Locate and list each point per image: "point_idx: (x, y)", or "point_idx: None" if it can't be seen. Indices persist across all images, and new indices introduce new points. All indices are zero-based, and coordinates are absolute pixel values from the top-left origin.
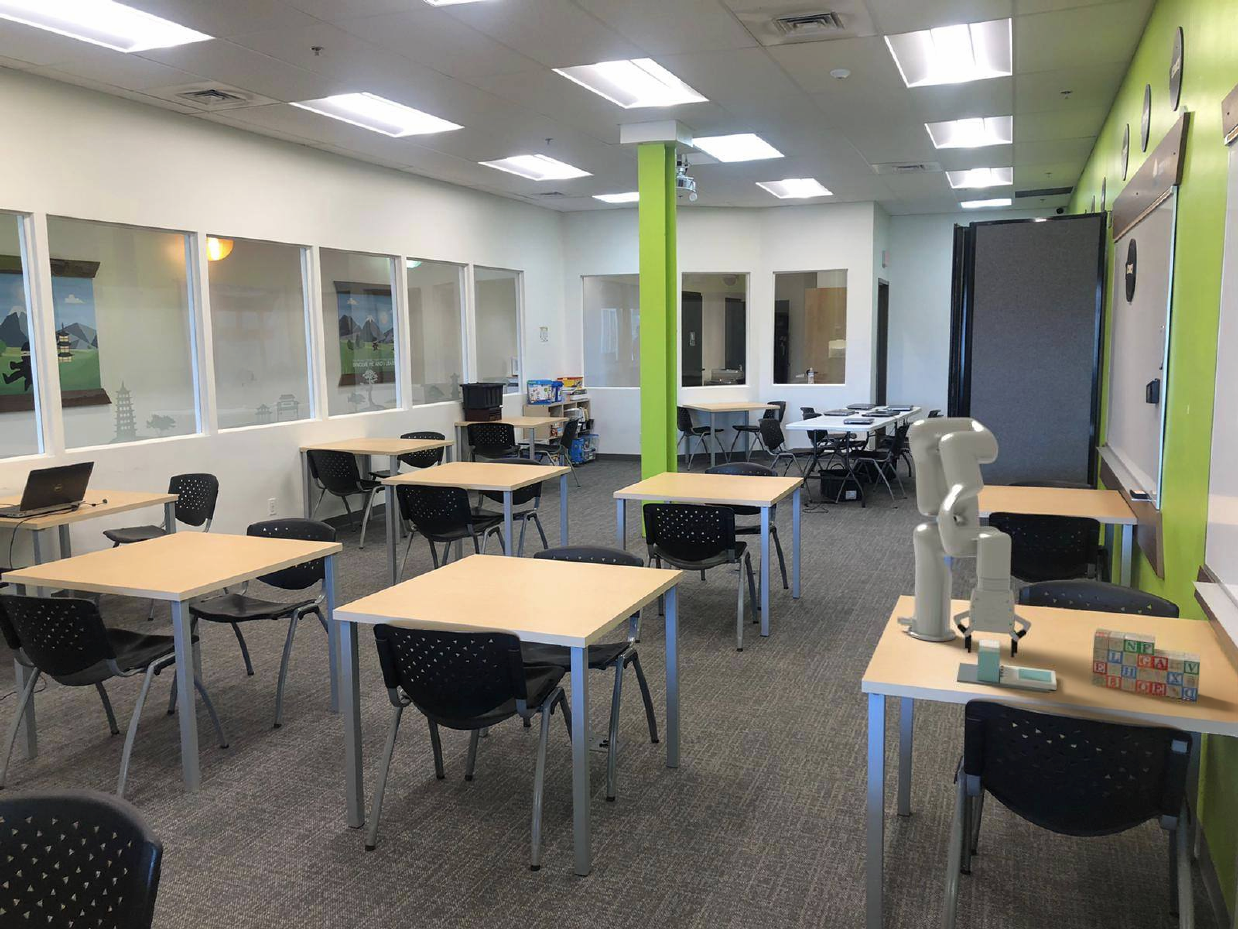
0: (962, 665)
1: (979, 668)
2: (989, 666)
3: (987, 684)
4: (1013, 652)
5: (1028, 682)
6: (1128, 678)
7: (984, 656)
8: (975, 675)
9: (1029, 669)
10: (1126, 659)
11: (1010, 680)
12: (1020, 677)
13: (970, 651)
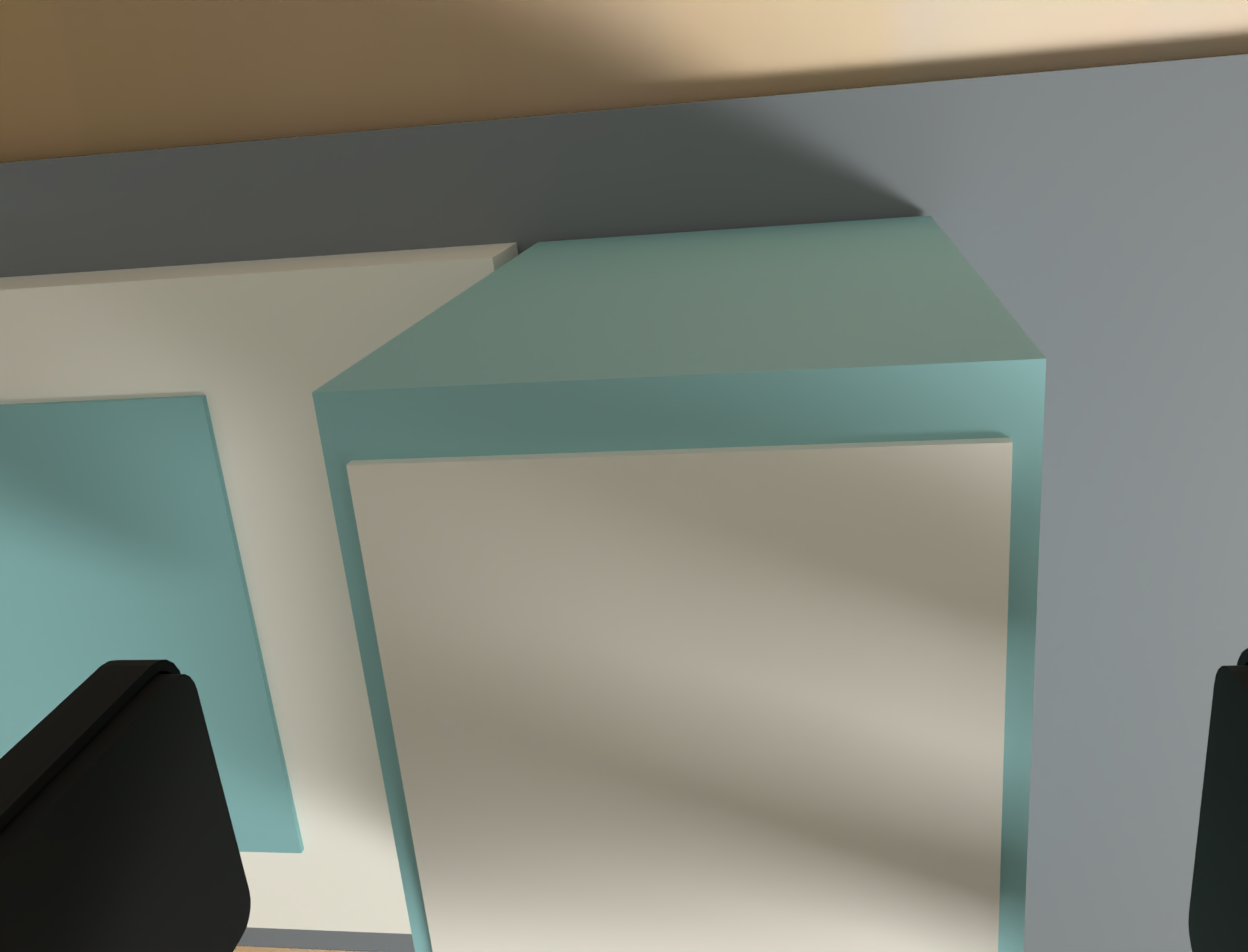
0: None
1: (911, 254)
2: (678, 286)
3: (724, 100)
4: (53, 729)
5: (39, 284)
6: None
7: (808, 337)
8: None
9: None
10: None
11: (323, 264)
12: (182, 430)
13: (1243, 683)
